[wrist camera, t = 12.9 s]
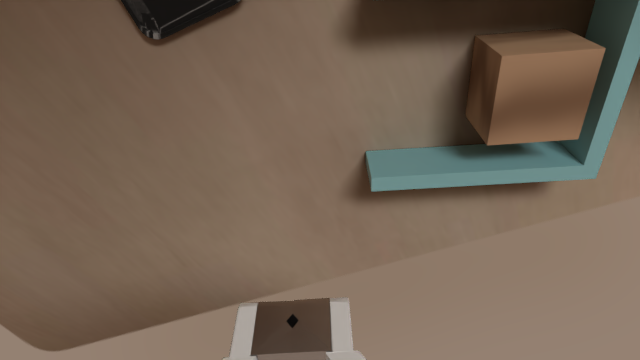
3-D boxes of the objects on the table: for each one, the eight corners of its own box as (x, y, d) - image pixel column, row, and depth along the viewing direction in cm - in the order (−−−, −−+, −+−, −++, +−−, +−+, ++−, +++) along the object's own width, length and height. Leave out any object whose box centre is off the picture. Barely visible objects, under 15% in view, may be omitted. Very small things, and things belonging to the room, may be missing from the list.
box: (365, -32, 26) (372, -23, 23) (628, -51, 26) (676, -45, 22) (365, 163, 34) (371, 191, 30) (567, 151, 33) (595, 178, 30)
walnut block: (474, 34, 28) (502, 55, 24) (562, 28, 28) (605, 48, 24) (464, 114, 32) (487, 145, 28) (543, 109, 32) (578, 139, 27)
